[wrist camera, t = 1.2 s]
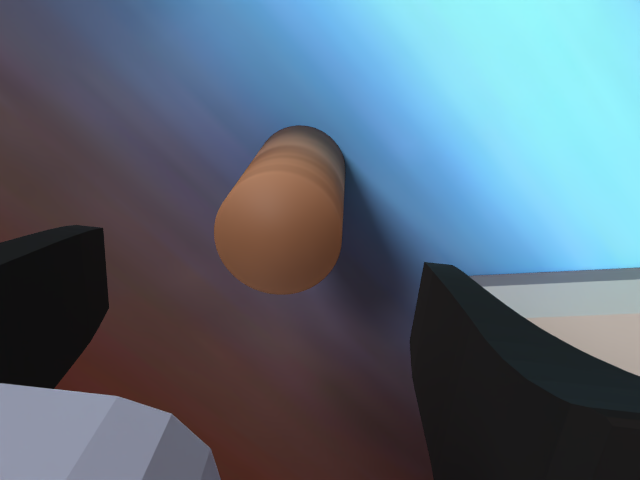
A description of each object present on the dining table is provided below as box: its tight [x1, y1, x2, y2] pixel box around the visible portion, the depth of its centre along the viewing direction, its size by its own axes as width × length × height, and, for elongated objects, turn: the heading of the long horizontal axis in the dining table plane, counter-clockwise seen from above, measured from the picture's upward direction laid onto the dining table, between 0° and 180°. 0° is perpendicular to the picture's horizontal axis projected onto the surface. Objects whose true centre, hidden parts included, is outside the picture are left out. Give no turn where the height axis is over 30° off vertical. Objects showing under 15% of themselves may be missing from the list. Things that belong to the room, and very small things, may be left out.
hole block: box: [469, 268, 640, 376], centre depth 22 cm, size 10×10×4 cm
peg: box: [214, 126, 345, 295], centre depth 18 cm, size 4×4×7 cm
